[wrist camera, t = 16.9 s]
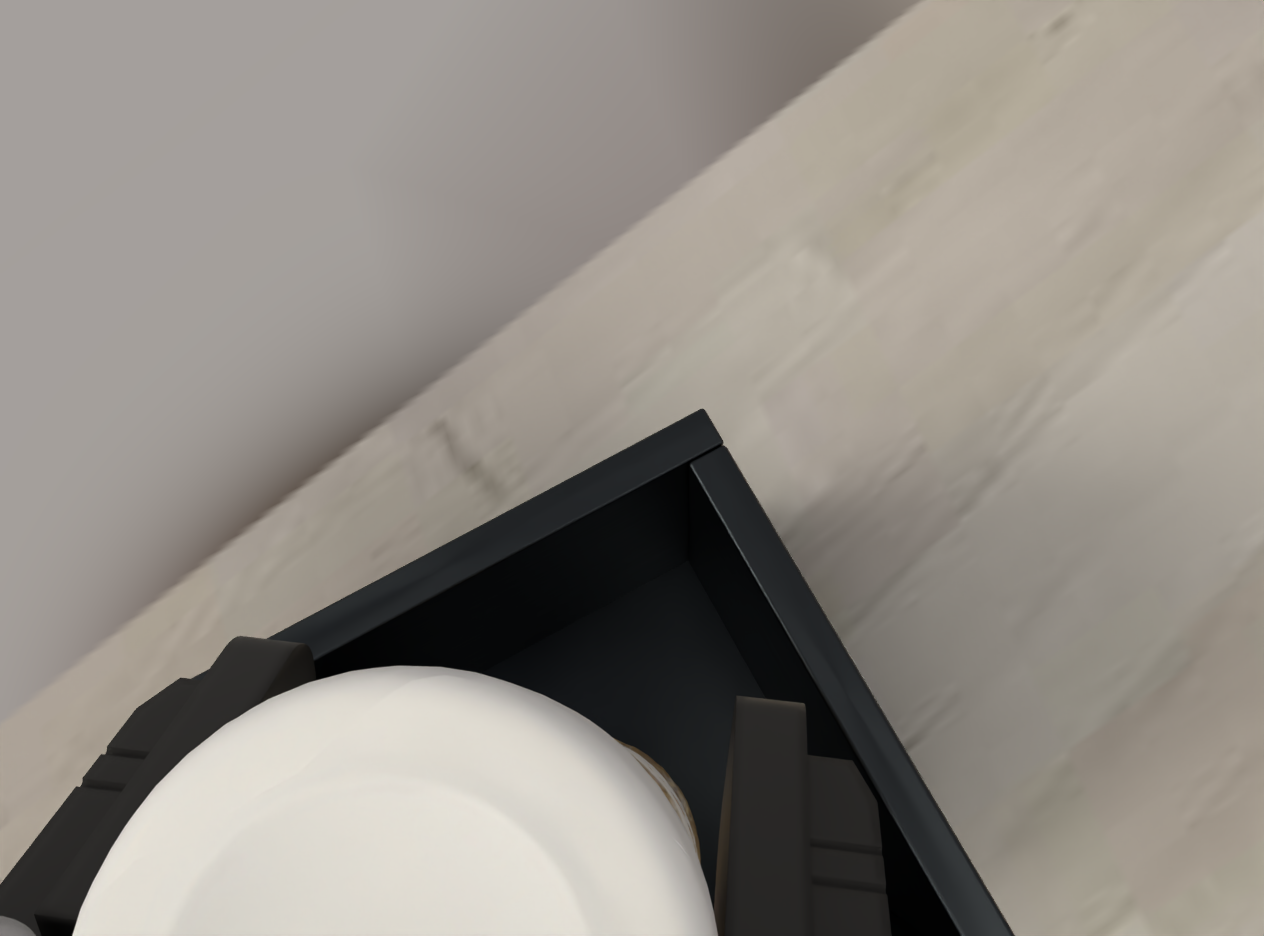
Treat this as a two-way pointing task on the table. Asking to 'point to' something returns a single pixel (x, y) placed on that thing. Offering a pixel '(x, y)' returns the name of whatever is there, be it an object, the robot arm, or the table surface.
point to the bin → (661, 644)
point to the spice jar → (407, 822)
